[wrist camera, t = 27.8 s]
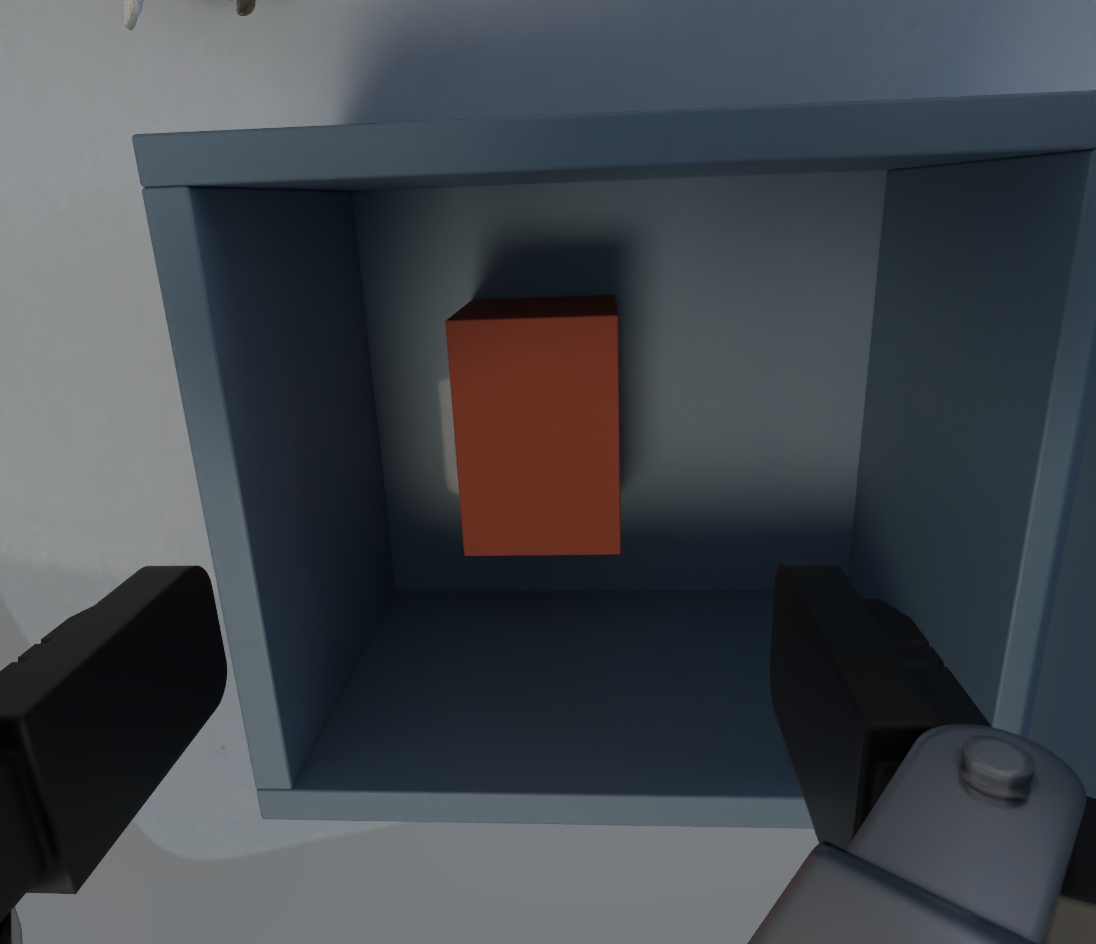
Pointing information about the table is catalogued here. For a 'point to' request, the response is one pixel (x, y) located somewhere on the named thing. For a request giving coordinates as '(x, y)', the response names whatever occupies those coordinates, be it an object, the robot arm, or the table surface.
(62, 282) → the table surface
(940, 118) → the blue-grey box
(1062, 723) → the box lid
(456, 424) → the terracotta brick block
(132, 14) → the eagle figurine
